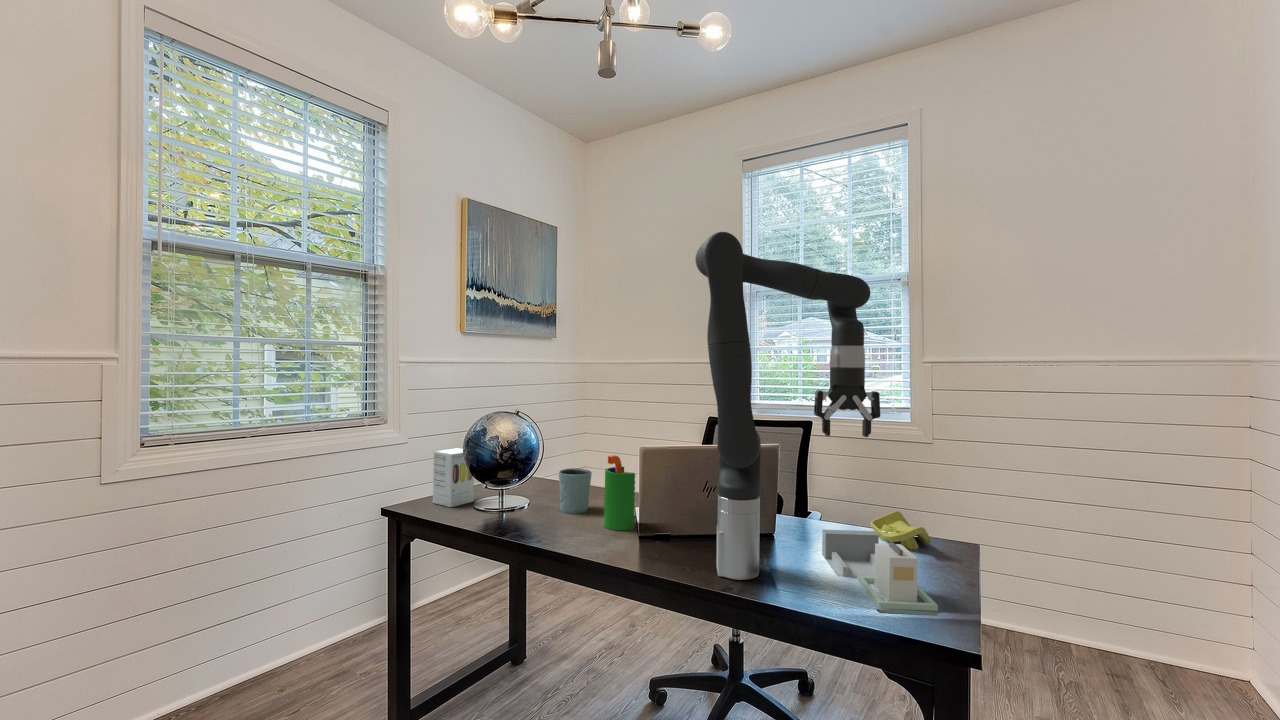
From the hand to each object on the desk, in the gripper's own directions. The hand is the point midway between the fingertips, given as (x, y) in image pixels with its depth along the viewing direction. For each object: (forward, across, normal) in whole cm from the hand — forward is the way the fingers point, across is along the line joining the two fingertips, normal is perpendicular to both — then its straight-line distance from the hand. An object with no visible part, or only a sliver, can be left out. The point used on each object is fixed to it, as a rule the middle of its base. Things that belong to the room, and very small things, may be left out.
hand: (846, 436), depth 127 cm
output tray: (+30, +5, -17) cm, 35 cm away
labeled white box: (+29, +5, -17) cm, 34 cm away
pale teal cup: (+30, -71, +40) cm, 87 cm away
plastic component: (+31, +19, +18) cm, 41 cm away
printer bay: (+30, +2, -3) cm, 30 cm away
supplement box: (+30, -112, +44) cm, 123 cm away
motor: (+30, -55, +25) cm, 68 cm away
